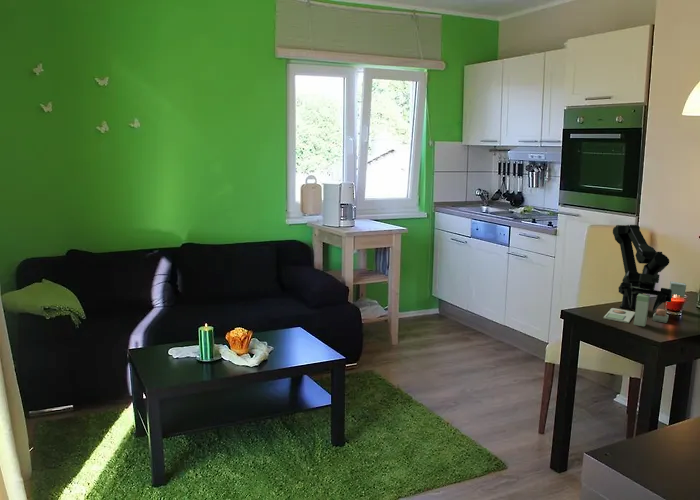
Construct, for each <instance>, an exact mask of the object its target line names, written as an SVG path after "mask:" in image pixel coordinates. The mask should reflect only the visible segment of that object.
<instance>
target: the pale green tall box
mask: <svg viewBox="0 0 700 500" xmlns="http://www.w3.org/2000/svg"><path fill="white" fill-rule="evenodd" d="M650 296H651V295H650V294H638V295H637V302H636V310H634V312H635V315H634V316H633V318H634V320H633V325H634V326H638V327H645V326H646V325H647V319H648V312H649V305H650V298H651V297H650Z"/></svg>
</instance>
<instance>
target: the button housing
mask: <svg viewBox="0 0 700 500" xmlns="http://www.w3.org/2000/svg"><path fill="white" fill-rule="evenodd" d="M652 321H653V322H658V323H664V324H666V323H668V321H669V314H666V316H660V315H657V314H656V312H653V315H652Z"/></svg>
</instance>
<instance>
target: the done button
mask: <svg viewBox="0 0 700 500" xmlns="http://www.w3.org/2000/svg"><path fill="white" fill-rule="evenodd" d="M655 311H656V312H655V313H656V314H657V315H660V316H666V315H667V309H663V308H657V309H656V310H655Z"/></svg>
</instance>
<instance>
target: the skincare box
mask: <svg viewBox="0 0 700 500" xmlns="http://www.w3.org/2000/svg"><path fill="white" fill-rule="evenodd" d="M668 289H671V290H672V294H677V295H680V296H683V297H684V298H685V297H686V290H687V284H686V283H685V282H677V281H670V283H669V288H668Z"/></svg>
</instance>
